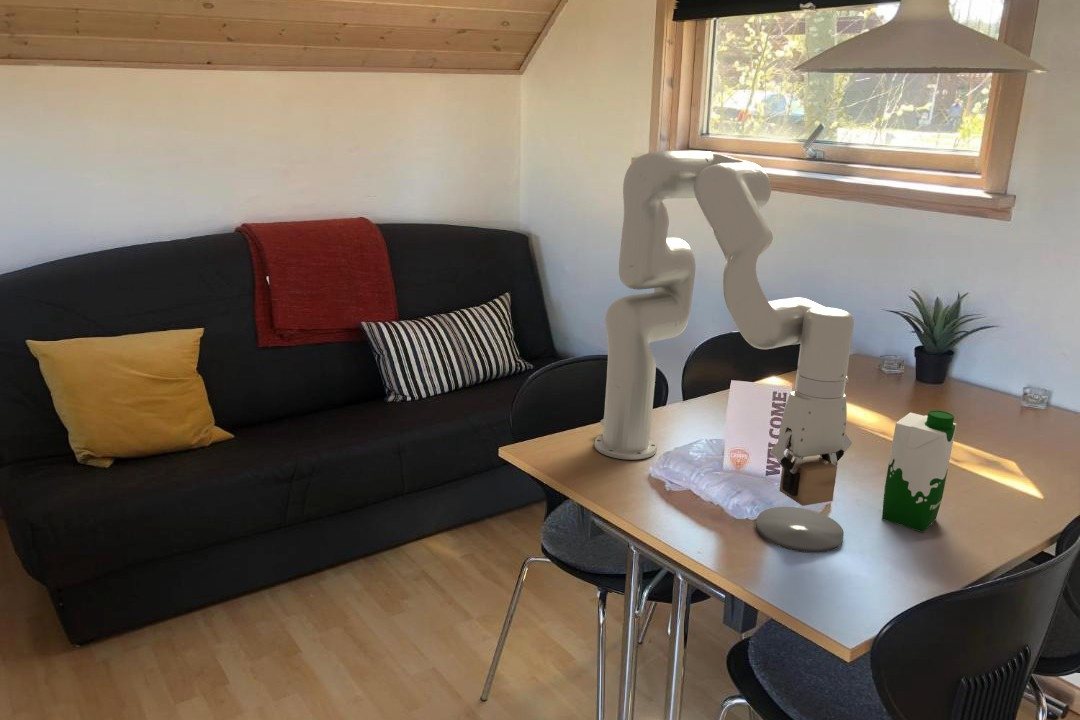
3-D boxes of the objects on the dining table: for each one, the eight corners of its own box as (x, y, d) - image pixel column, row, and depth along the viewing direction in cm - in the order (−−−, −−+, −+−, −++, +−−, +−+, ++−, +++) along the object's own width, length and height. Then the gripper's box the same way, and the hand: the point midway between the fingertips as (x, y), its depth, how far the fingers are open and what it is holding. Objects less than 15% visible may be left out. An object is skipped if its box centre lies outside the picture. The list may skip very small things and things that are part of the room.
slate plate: (739, 519, 153) (740, 513, 152) (805, 508, 158) (806, 502, 158) (791, 558, 141) (792, 551, 140) (861, 545, 146) (862, 538, 146)
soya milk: (927, 536, 150) (948, 424, 144) (873, 518, 155) (891, 410, 150) (942, 519, 157) (963, 411, 151) (890, 503, 162) (909, 398, 156)
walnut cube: (779, 490, 149) (783, 457, 147) (808, 486, 151) (812, 453, 149) (802, 505, 143) (807, 471, 142) (832, 500, 146) (837, 466, 144)
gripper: (846, 374, 148) (832, 474, 154) (760, 383, 142) (748, 487, 147) (879, 388, 142) (863, 492, 147) (790, 398, 135) (777, 506, 140)
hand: (806, 489), depth 147 cm, fingers closed on walnut cube, 6 cm apart
